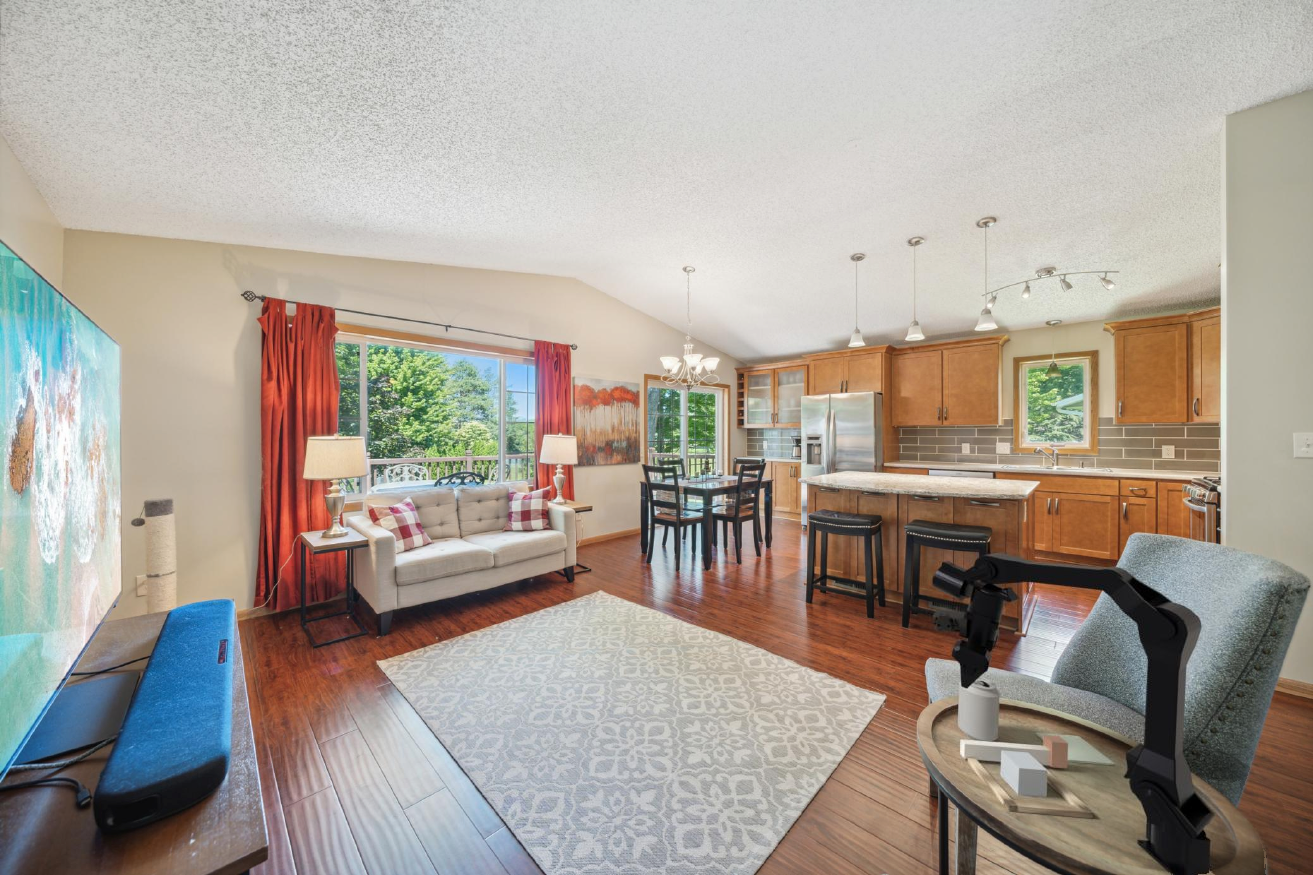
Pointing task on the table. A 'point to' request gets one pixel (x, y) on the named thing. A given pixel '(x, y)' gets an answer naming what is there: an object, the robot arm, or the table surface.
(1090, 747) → the mat
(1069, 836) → the table surface
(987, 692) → the can
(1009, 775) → the block
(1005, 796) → the wooden u frame
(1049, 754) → the bar
